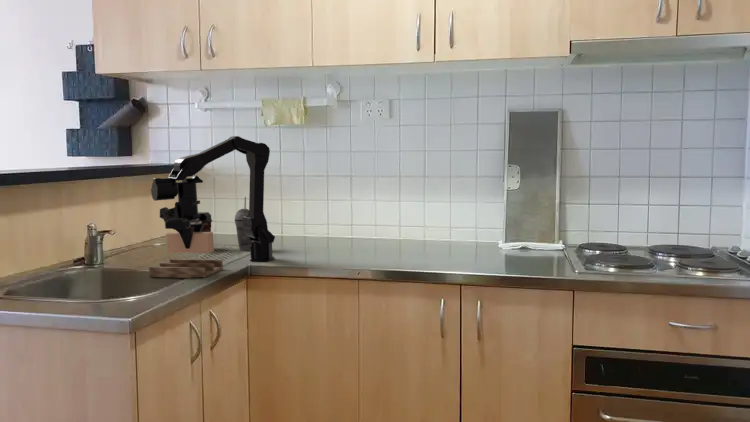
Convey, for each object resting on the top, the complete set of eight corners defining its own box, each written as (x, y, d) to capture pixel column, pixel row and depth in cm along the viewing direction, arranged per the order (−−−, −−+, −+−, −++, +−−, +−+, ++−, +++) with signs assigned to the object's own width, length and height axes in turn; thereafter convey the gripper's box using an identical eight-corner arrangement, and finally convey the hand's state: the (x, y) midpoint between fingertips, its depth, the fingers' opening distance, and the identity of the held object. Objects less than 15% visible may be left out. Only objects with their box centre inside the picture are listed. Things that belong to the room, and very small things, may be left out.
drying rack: (222, 269, 192) (222, 259, 192) (204, 278, 180) (203, 268, 180) (171, 268, 196) (170, 259, 196) (149, 276, 184) (148, 267, 183)
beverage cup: (246, 247, 232) (243, 195, 229) (259, 249, 227) (257, 196, 225) (231, 250, 226) (228, 197, 223) (245, 252, 221) (242, 198, 219)
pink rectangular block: (213, 250, 190) (212, 232, 190) (208, 252, 187) (207, 233, 186) (173, 250, 193) (172, 231, 193) (167, 252, 190) (166, 233, 189)
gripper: (179, 195, 199) (182, 242, 201) (147, 201, 181) (150, 252, 183) (210, 195, 197) (213, 242, 199) (181, 201, 179) (184, 253, 180)
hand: (190, 247), depth 190 cm, fingers closed on pink rectangular block, 3 cm apart
